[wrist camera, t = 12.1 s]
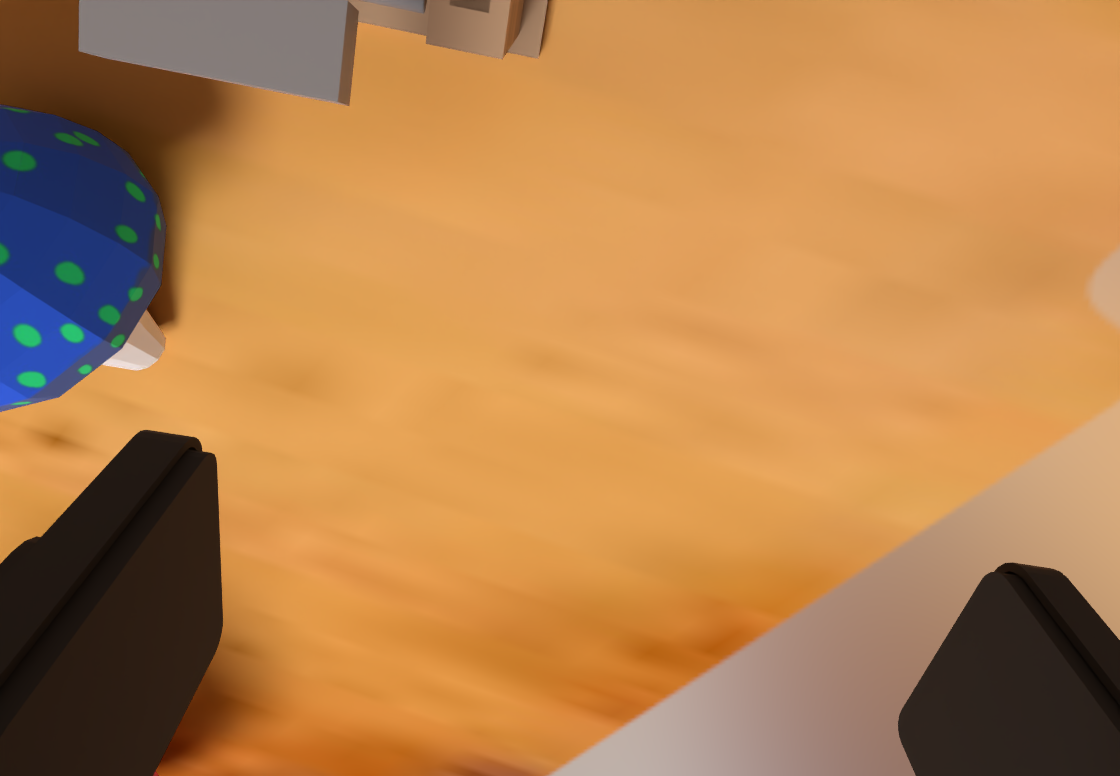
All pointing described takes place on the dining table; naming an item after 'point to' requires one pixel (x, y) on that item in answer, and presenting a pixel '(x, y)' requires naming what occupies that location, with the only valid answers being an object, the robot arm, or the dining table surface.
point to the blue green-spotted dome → (72, 257)
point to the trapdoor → (235, 40)
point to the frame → (468, 24)
